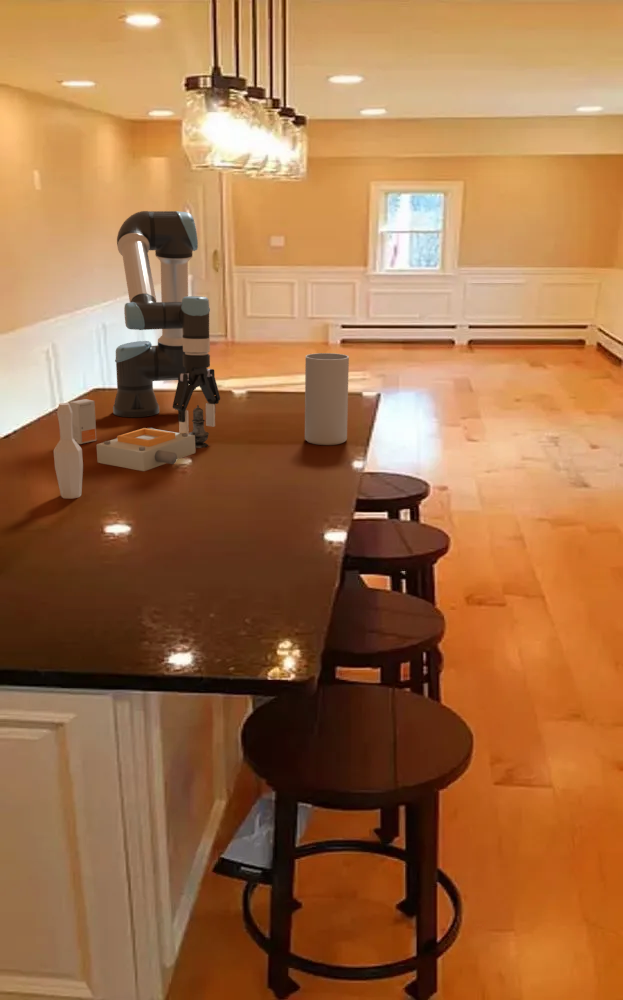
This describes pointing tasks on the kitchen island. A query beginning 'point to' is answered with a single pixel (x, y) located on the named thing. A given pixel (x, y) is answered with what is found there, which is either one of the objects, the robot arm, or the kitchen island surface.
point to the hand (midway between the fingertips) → (197, 429)
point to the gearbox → (145, 449)
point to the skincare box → (83, 421)
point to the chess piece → (199, 428)
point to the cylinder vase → (326, 398)
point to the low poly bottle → (68, 456)
